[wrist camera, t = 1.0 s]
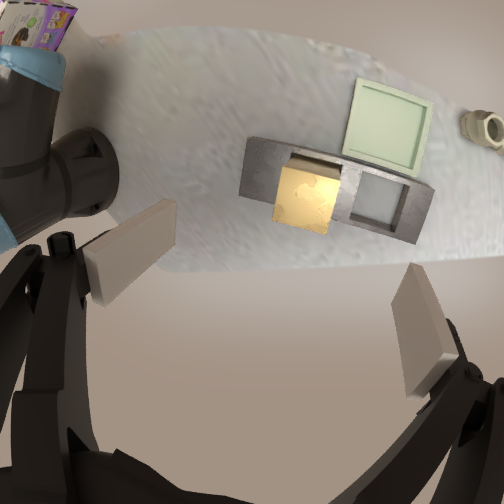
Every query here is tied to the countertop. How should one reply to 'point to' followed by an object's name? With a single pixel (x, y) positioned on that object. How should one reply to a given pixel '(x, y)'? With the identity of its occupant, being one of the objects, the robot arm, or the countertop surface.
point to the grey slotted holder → (279, 153)
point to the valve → (484, 129)
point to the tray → (387, 127)
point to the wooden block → (307, 193)
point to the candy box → (34, 23)
